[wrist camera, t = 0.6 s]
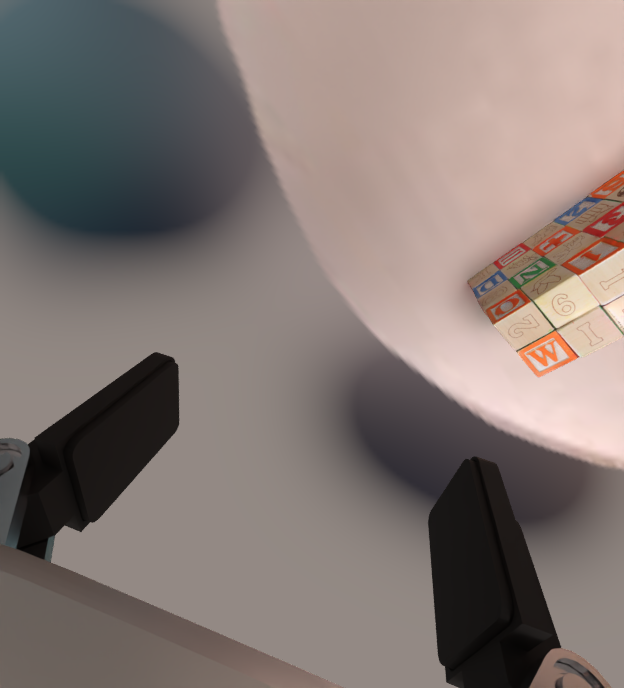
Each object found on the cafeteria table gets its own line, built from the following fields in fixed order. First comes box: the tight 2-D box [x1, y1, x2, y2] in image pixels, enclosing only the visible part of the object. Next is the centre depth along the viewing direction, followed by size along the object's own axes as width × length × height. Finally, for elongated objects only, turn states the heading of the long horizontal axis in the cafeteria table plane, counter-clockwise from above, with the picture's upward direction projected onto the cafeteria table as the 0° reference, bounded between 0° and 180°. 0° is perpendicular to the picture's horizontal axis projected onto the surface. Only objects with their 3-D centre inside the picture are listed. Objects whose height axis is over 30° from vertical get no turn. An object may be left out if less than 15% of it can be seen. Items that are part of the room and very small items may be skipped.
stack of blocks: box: [468, 171, 624, 377], centre depth 26 cm, size 21×6×12 cm, turn 135°
